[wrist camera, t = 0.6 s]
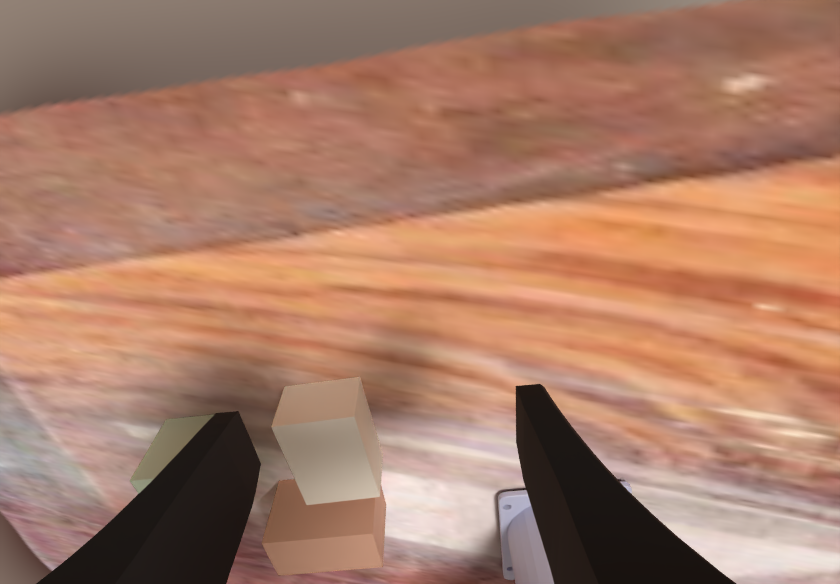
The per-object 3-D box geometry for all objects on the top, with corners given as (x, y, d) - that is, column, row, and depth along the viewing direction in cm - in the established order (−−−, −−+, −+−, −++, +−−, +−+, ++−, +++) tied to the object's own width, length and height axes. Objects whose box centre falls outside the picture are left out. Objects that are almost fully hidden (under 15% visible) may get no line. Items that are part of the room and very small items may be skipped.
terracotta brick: (377, 469, 28) (372, 533, 25) (386, 502, 30) (382, 567, 26) (279, 479, 29) (261, 543, 25) (293, 511, 30) (278, 575, 27)
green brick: (257, 482, 29) (236, 546, 25) (206, 487, 29) (179, 551, 26) (224, 411, 26) (195, 474, 22) (167, 417, 26) (129, 480, 22)
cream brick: (382, 451, 28) (380, 497, 25) (316, 459, 28) (306, 505, 25) (360, 373, 24) (354, 416, 22) (285, 383, 25) (271, 427, 22)
